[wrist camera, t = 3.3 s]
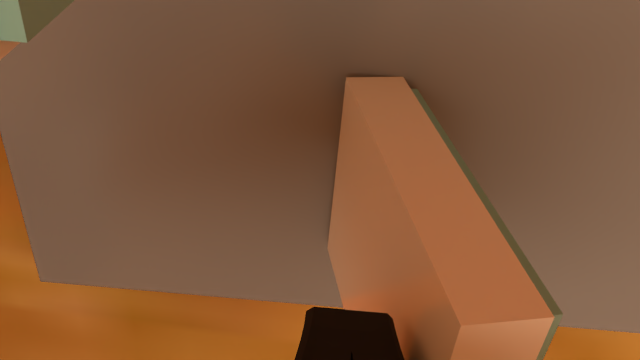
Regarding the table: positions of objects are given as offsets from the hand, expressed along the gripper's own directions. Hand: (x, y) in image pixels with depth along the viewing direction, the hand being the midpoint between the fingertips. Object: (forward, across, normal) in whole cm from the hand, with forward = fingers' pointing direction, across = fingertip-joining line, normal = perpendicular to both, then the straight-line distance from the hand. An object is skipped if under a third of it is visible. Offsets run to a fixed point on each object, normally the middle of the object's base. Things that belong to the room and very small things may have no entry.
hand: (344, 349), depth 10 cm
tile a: (+6, 0, 0) cm, 6 cm away
